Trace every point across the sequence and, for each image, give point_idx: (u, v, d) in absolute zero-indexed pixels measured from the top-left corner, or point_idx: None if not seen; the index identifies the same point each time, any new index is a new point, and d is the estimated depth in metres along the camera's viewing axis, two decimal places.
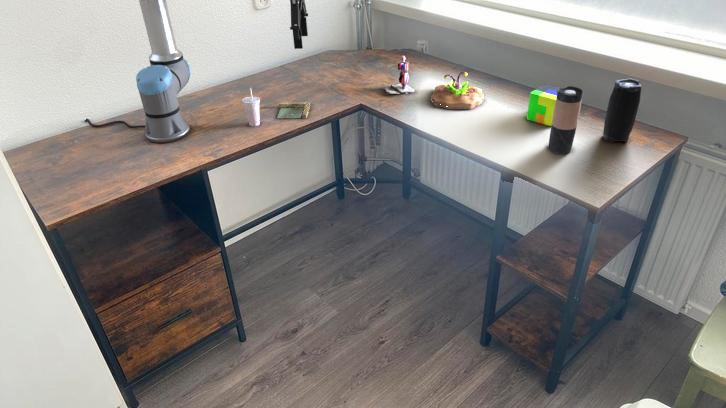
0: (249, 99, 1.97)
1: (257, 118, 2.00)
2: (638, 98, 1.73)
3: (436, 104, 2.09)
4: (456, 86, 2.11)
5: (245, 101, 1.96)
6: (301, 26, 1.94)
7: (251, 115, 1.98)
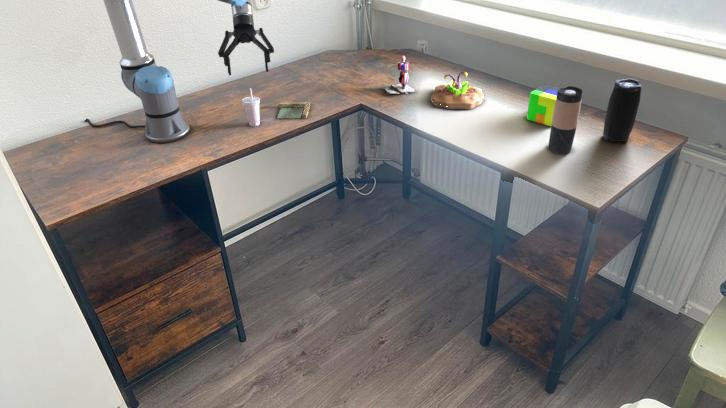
0: (249, 99, 1.97)
1: (257, 118, 2.00)
2: (638, 98, 1.73)
3: (436, 104, 2.09)
4: (456, 86, 2.11)
5: (245, 101, 1.96)
6: None
7: (251, 115, 1.98)
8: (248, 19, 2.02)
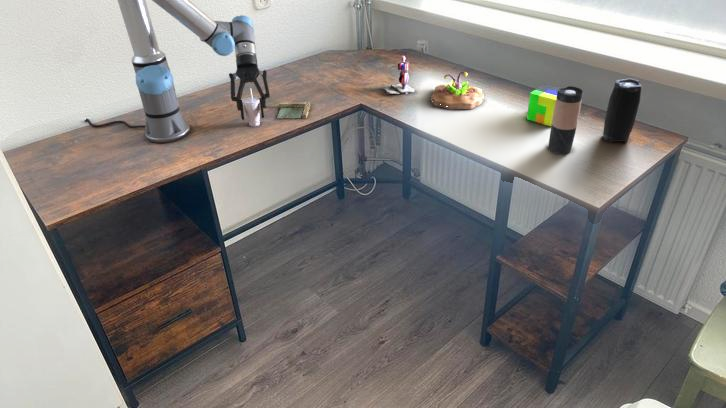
0: (249, 99, 1.97)
1: (257, 118, 2.00)
2: (638, 98, 1.73)
3: (436, 104, 2.09)
4: (456, 86, 2.11)
5: (245, 101, 1.96)
6: None
7: (251, 115, 1.98)
8: (252, 58, 1.98)
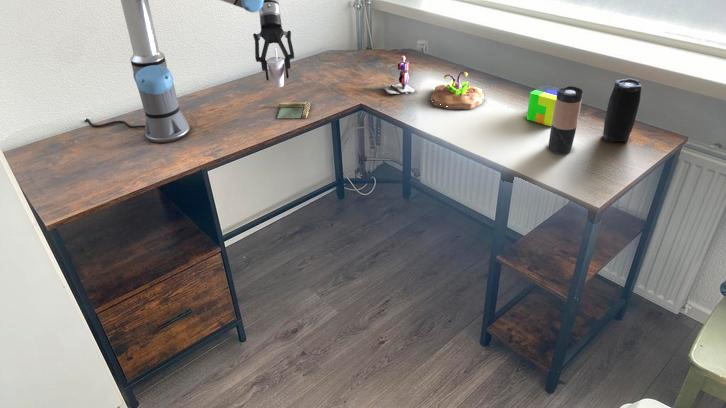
0: (274, 59, 1.95)
1: (281, 79, 1.98)
2: (638, 98, 1.73)
3: (436, 104, 2.09)
4: (456, 86, 2.11)
5: (270, 61, 1.94)
6: (285, 68, 1.97)
7: (276, 75, 1.96)
8: (277, 18, 1.97)
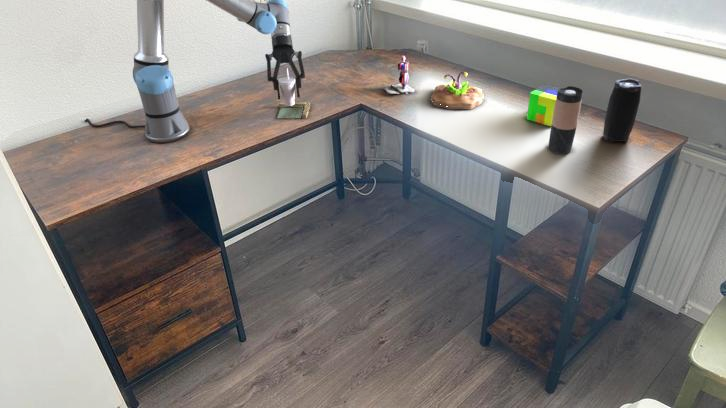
0: (285, 79, 2.01)
1: (292, 98, 2.04)
2: (638, 98, 1.73)
3: (436, 104, 2.09)
4: (456, 86, 2.11)
5: (281, 81, 2.01)
6: (296, 87, 2.03)
7: (287, 94, 2.02)
8: (288, 39, 2.03)
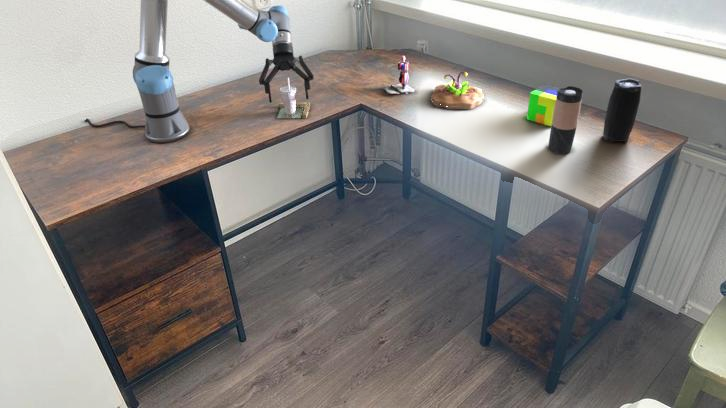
0: (286, 88, 2.03)
1: (293, 107, 2.06)
2: (638, 98, 1.73)
3: (436, 104, 2.09)
4: (456, 86, 2.11)
5: (283, 90, 2.03)
6: None
7: (288, 103, 2.04)
8: (289, 47, 2.05)
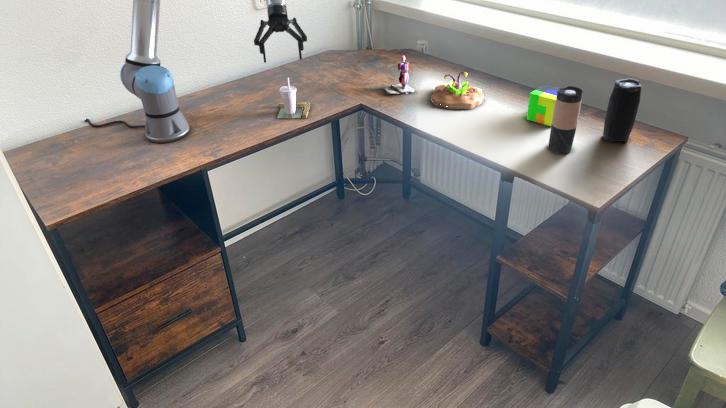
0: (286, 88, 2.03)
1: (293, 107, 2.06)
2: (638, 98, 1.73)
3: (436, 104, 2.09)
4: (456, 86, 2.11)
5: (282, 90, 2.03)
6: None
7: (288, 103, 2.04)
8: (283, 9, 2.11)
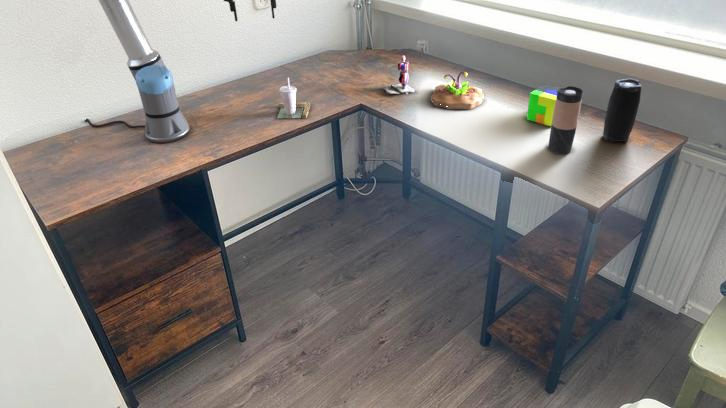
0: (286, 88, 2.03)
1: (293, 107, 2.06)
2: (638, 98, 1.73)
3: (436, 104, 2.09)
4: (456, 86, 2.11)
5: (282, 90, 2.03)
6: None
7: (288, 103, 2.04)
8: None
